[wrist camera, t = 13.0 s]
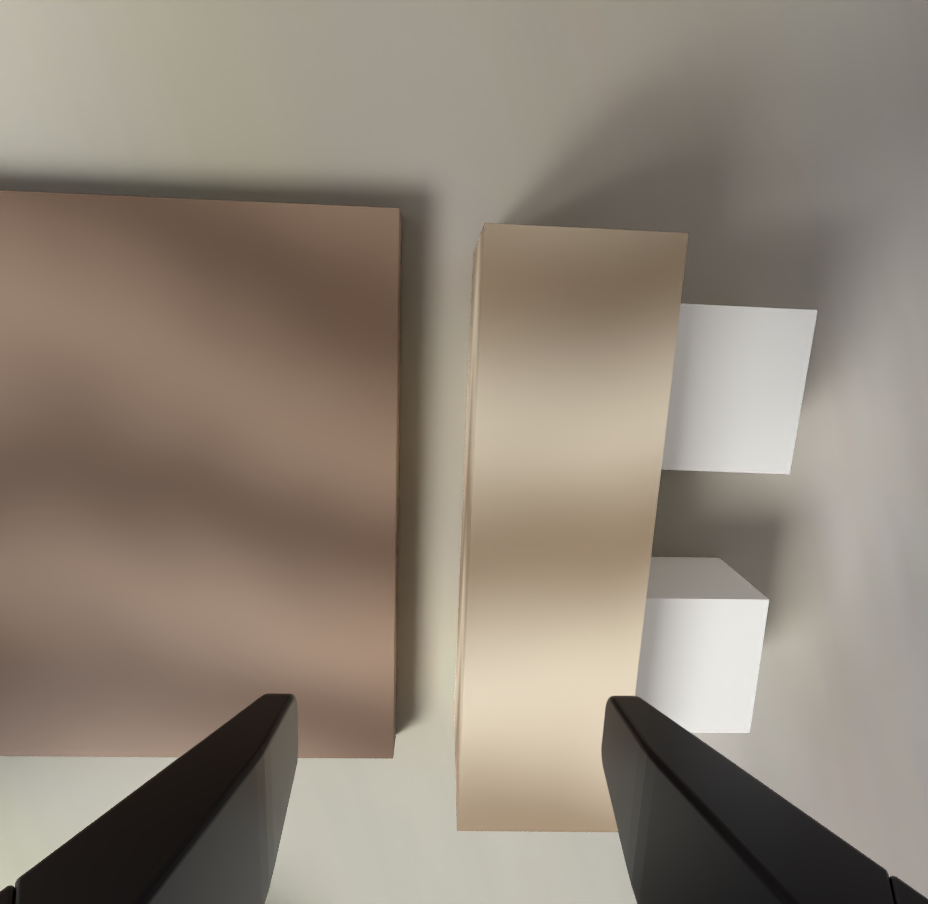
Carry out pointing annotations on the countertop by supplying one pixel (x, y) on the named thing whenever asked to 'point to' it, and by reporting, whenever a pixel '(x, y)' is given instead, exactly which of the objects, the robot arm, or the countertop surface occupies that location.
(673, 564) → the plain white cube
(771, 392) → the white square block
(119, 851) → the robot arm
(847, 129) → the countertop surface
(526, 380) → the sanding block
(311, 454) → the walnut board
